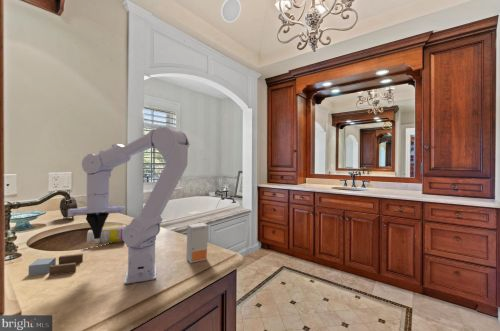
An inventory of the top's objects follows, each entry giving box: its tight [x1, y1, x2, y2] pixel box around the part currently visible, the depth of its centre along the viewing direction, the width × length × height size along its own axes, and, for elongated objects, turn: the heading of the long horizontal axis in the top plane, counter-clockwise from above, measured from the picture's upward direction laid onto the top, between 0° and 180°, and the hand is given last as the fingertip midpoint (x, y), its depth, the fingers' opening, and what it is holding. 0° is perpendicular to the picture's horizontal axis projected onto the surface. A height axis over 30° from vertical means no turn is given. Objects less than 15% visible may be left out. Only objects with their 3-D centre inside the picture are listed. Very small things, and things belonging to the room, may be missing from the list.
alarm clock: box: [59, 189, 78, 221], centre depth 124 cm, size 11×5×16 cm, turn 58°
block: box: [28, 257, 57, 276], centre depth 67 cm, size 4×4×3 cm
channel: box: [48, 253, 84, 277], centre depth 69 cm, size 8×6×2 cm
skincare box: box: [186, 222, 209, 264], centre depth 78 cm, size 6×4×12 cm
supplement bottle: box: [86, 224, 127, 245], centre depth 91 cm, size 7×7×13 cm
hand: (97, 237), depth 70 cm, fingers closed
